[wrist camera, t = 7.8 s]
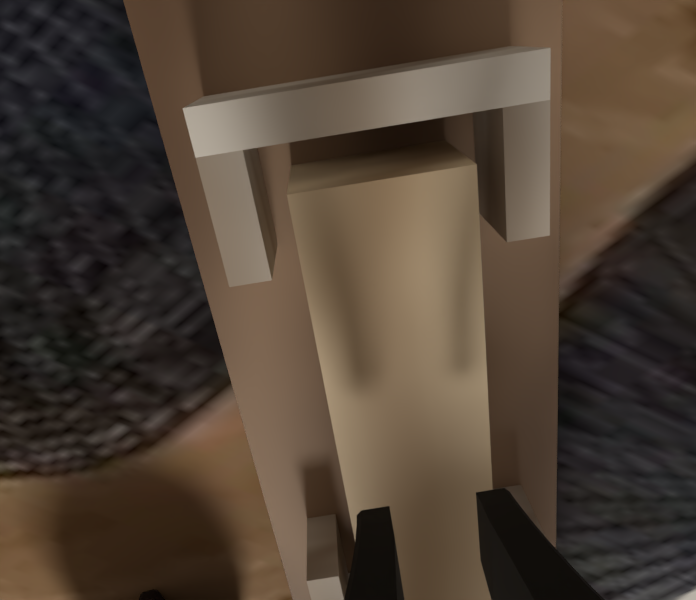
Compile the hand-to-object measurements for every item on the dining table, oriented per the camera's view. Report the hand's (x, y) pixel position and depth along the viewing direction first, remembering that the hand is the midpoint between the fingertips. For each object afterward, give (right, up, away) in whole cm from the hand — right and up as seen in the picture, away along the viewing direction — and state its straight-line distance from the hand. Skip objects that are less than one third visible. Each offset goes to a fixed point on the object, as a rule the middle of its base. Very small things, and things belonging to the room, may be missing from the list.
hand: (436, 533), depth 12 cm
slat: (0, +3, +5) cm, 6 cm away
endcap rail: (0, +3, +7) cm, 7 cm away
